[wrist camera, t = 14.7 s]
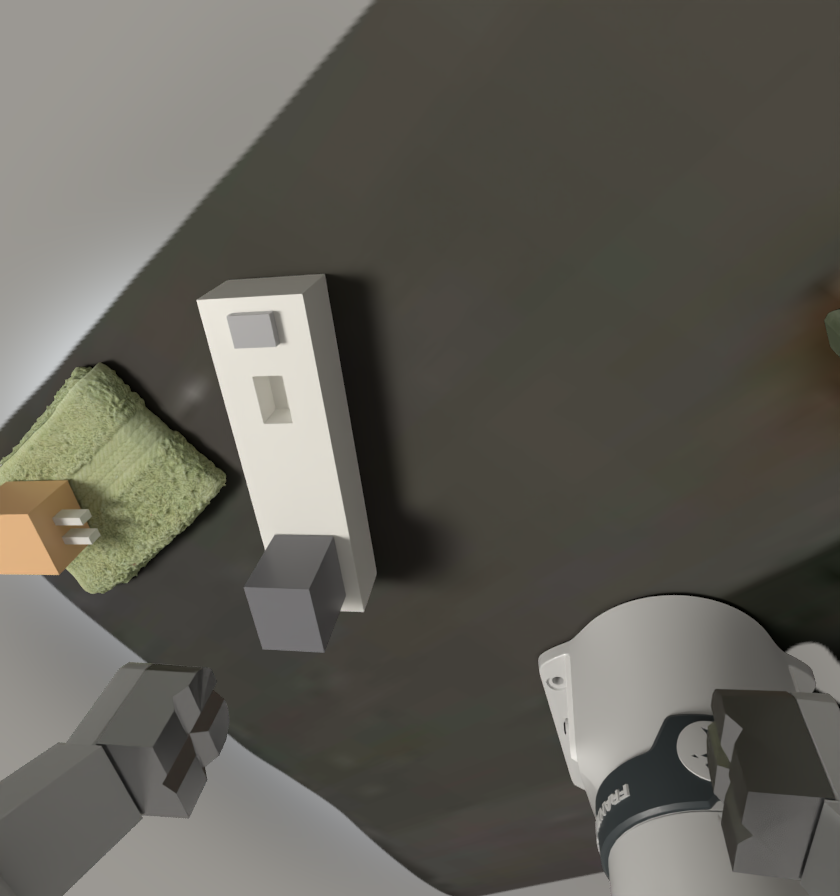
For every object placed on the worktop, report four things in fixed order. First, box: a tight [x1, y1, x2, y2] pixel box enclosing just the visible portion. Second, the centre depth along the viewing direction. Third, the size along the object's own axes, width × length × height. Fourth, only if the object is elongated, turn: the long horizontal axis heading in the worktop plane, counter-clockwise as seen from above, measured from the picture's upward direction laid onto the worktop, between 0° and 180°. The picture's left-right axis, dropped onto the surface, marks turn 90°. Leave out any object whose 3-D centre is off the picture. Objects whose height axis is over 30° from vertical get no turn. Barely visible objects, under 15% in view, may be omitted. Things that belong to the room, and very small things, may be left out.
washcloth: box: [0, 363, 226, 594], centre depth 46 cm, size 13×18×3 cm
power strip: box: [196, 274, 377, 612], centre depth 41 cm, size 22×6×5 cm, turn 6°
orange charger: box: [0, 480, 100, 575], centre depth 44 cm, size 5×4×7 cm
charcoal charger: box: [244, 535, 346, 653], centre depth 41 cm, size 5×4×7 cm
